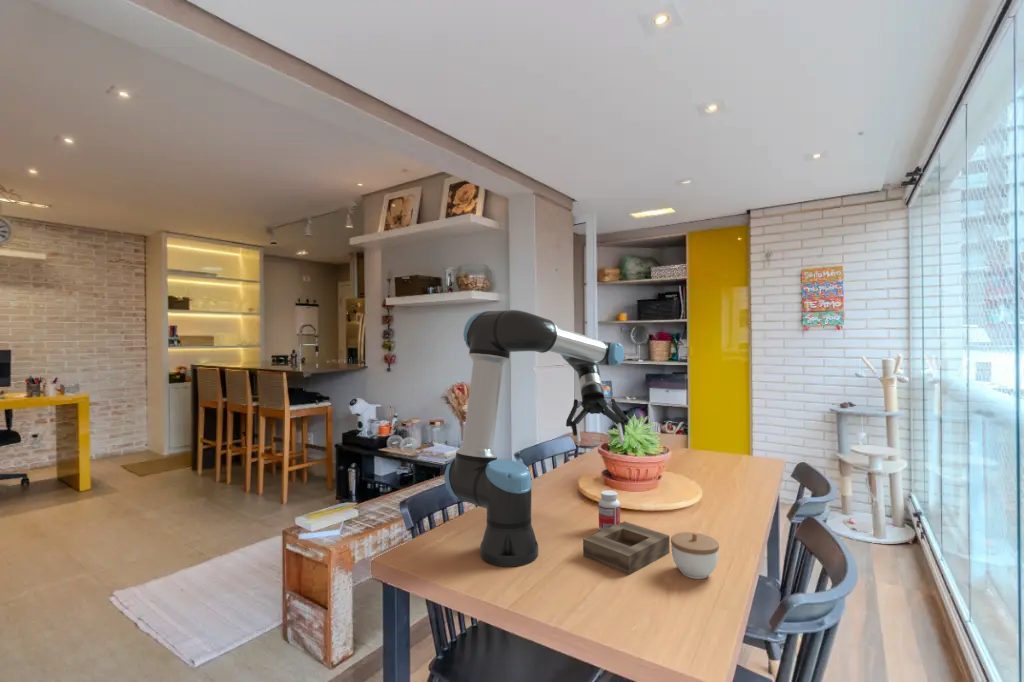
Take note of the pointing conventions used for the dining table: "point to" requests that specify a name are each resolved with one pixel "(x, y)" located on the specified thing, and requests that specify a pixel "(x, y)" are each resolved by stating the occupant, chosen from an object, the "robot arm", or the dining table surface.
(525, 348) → the robot arm
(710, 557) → the lidded jar
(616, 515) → the pill bottle
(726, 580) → the dining table surface
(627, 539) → the socket block
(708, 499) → the dining table surface
